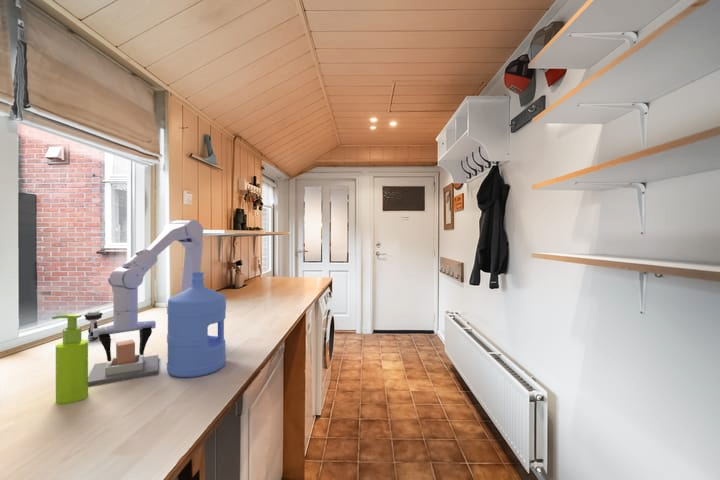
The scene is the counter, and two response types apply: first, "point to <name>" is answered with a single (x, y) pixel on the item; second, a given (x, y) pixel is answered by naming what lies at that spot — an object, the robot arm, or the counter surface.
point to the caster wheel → (93, 322)
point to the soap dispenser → (71, 363)
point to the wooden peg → (125, 352)
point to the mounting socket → (123, 370)
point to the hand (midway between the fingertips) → (125, 357)
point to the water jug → (195, 330)
